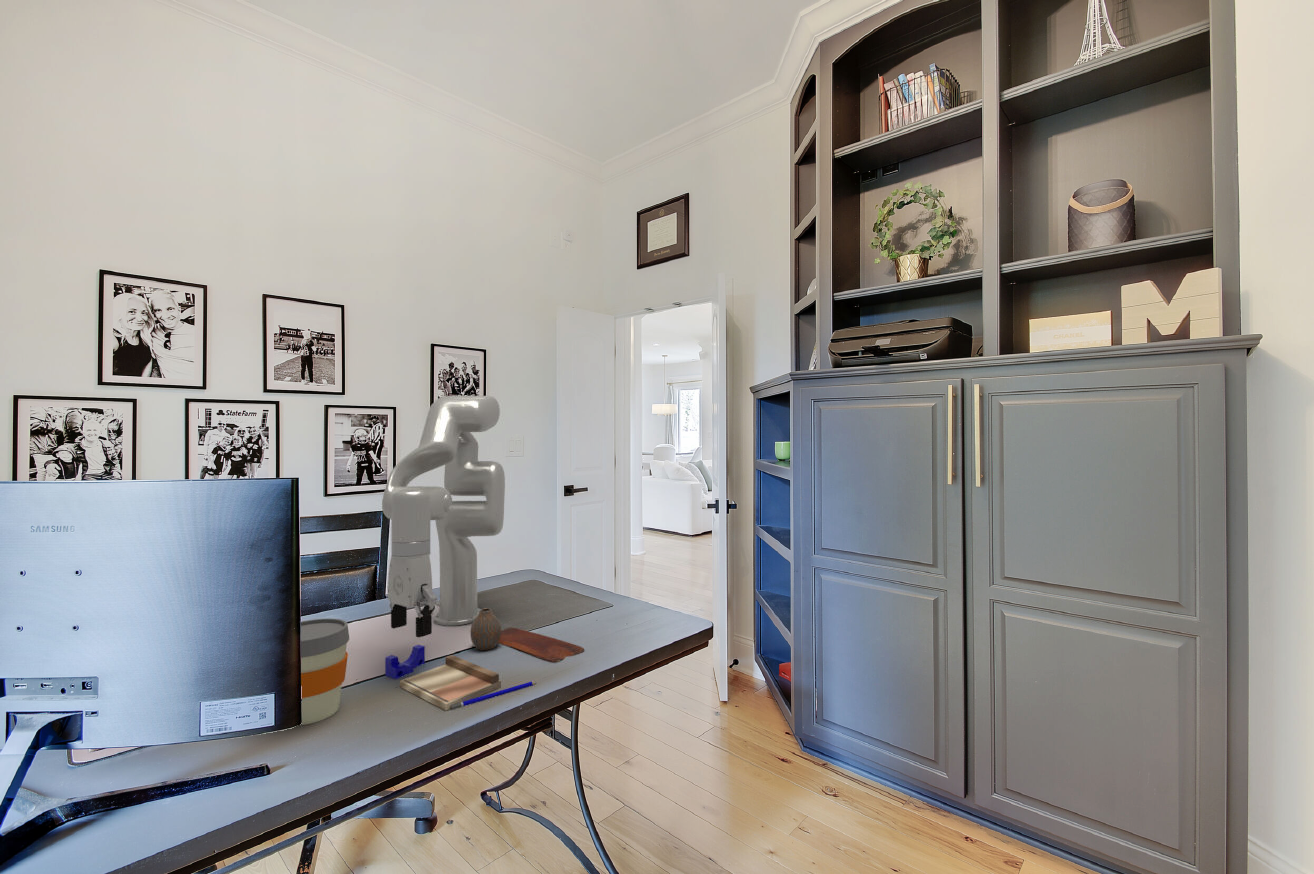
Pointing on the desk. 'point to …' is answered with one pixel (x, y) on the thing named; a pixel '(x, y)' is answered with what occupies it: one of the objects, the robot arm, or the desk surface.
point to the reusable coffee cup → (322, 667)
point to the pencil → (492, 695)
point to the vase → (485, 630)
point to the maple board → (452, 683)
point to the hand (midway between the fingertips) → (411, 631)
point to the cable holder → (404, 663)
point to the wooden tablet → (538, 645)
